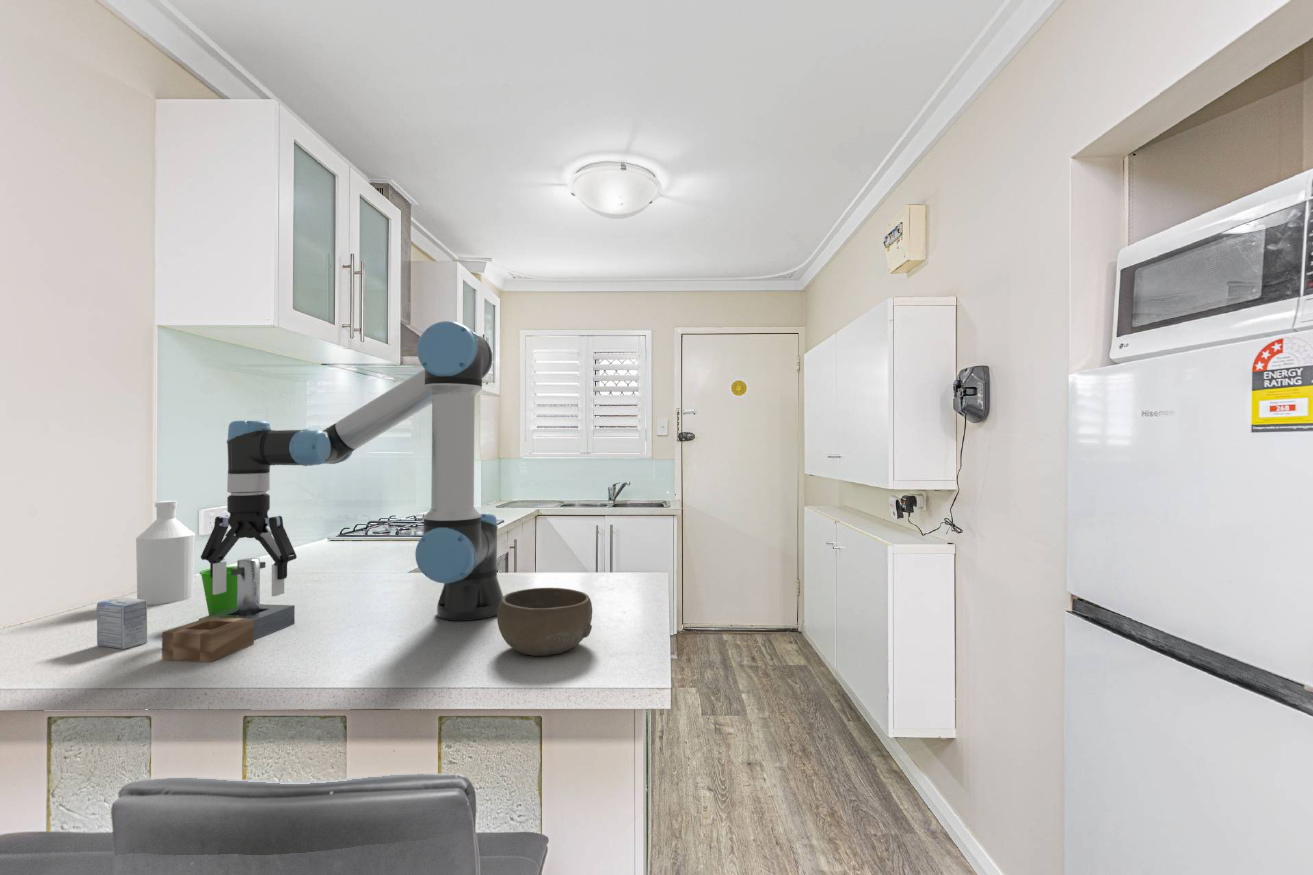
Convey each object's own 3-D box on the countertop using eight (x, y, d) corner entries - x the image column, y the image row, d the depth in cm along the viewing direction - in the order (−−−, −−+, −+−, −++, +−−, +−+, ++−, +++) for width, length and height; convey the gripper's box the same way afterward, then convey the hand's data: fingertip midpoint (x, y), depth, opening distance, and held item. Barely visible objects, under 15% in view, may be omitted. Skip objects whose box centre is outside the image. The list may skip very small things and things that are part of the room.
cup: (257, 613, 145) (257, 566, 145) (226, 624, 136) (226, 574, 136) (221, 612, 146) (221, 565, 146) (188, 623, 137) (188, 573, 137)
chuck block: (294, 623, 136) (294, 605, 136) (252, 640, 124) (252, 620, 124) (244, 621, 138) (244, 603, 138) (198, 638, 126) (198, 618, 126)
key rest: (253, 644, 122) (253, 618, 122) (211, 661, 112) (211, 633, 112) (208, 642, 123) (208, 617, 123) (162, 659, 113) (162, 632, 114)
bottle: (204, 595, 162) (205, 500, 163) (152, 606, 151) (153, 504, 152) (177, 591, 167) (178, 498, 167) (125, 601, 156) (126, 502, 157)
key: (271, 625, 135) (271, 556, 135) (242, 636, 127) (242, 563, 127) (254, 625, 135) (254, 556, 135) (224, 636, 127) (224, 563, 128)
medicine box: (148, 643, 123) (148, 599, 123) (122, 650, 119) (122, 604, 119) (121, 639, 126) (122, 596, 126) (95, 646, 122) (96, 601, 122)
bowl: (610, 647, 119) (609, 595, 119) (531, 671, 106) (531, 613, 107) (556, 629, 131) (556, 581, 131) (480, 649, 119) (480, 596, 119)
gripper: (315, 492, 134) (314, 591, 133) (210, 491, 137) (210, 588, 136) (290, 495, 126) (290, 599, 126) (180, 494, 129) (180, 596, 129)
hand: (248, 594), depth 131 cm, fingers open, 13 cm apart
